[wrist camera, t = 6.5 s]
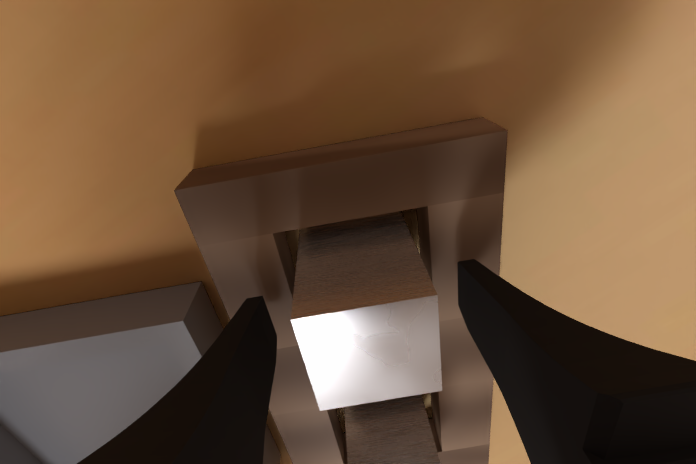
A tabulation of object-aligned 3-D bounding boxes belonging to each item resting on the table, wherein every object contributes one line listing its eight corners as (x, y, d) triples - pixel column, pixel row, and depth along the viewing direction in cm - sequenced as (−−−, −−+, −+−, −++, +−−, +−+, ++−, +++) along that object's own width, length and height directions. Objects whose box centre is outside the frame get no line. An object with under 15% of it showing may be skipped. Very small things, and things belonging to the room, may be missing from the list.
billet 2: (418, 411, 22) (449, 531, 17) (353, 422, 22) (363, 545, 17) (413, 367, 20) (447, 488, 15) (342, 379, 20) (350, 503, 15)
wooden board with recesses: (475, 432, 23) (488, 465, 21) (307, 459, 23) (306, 494, 22) (483, 117, 13) (507, 130, 12) (192, 169, 14) (173, 190, 12)
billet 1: (404, 278, 17) (442, 390, 12) (320, 293, 17) (320, 411, 12) (396, 201, 15) (437, 294, 10) (300, 218, 15) (290, 319, 10)
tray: (280, 454, 23) (276, 499, 21) (67, 490, 23) (41, 537, 21) (201, 281, 16) (182, 321, 14) (-102, 334, 16) (-166, 380, 14)
